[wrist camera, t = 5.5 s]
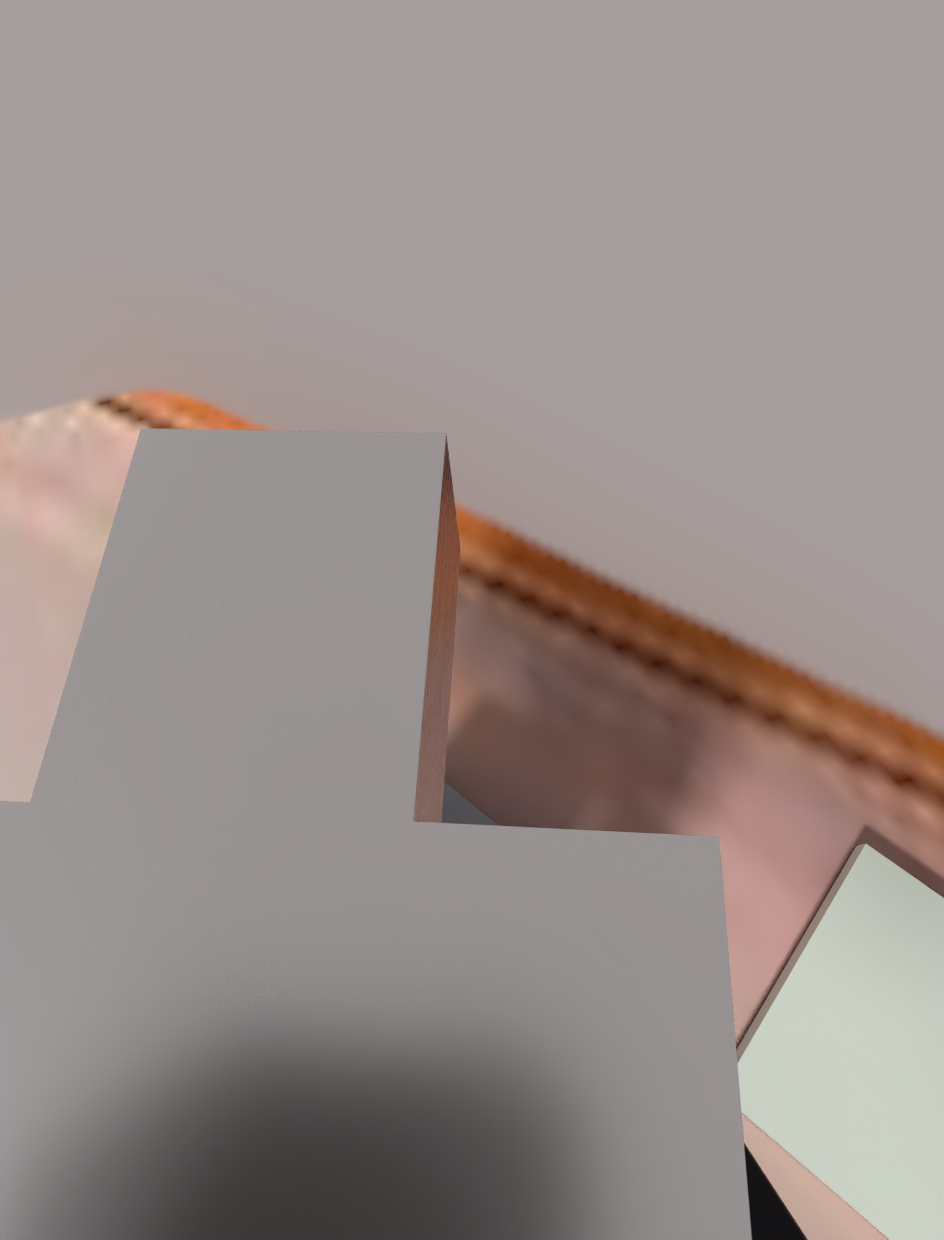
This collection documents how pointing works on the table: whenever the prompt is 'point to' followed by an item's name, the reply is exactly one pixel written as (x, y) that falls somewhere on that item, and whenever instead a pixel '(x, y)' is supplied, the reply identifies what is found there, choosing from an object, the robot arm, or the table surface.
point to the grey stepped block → (333, 905)
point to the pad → (860, 1049)
